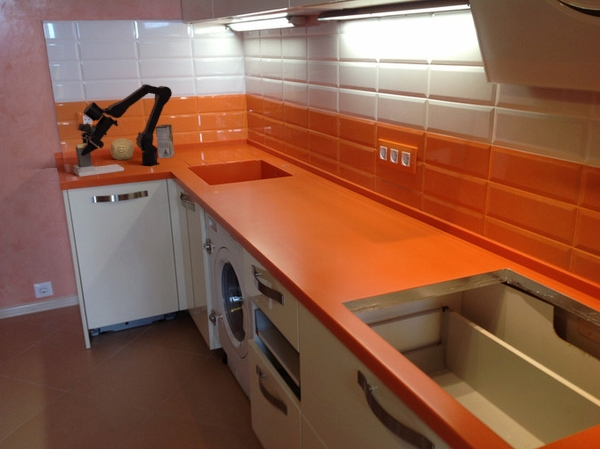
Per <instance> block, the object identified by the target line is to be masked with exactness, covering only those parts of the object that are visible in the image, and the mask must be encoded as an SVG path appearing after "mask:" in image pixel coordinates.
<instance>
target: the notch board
mask: <svg viewBox="0 0 600 449" xmlns="http://www.w3.org/2000/svg"><path fill="white" fill-rule="evenodd" d="M123 171H125V168H124V167H122V166H121V165H119V164H117V163H116V164H108V165H100V166H95V165H92V166H88V167H81V168H80V167H79V166H78V164H73V173H75V174H76V176H78V177H80V178H81V177H86V176H87V177H88V176H94V175H100V174H109V173H110V174H111V173H117V172H123Z"/></svg>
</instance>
